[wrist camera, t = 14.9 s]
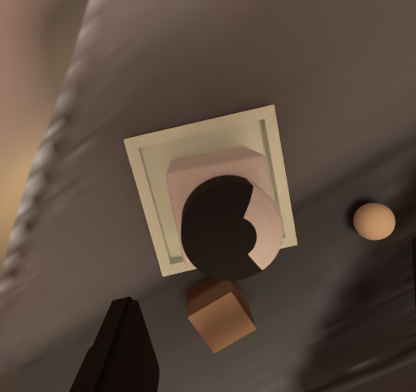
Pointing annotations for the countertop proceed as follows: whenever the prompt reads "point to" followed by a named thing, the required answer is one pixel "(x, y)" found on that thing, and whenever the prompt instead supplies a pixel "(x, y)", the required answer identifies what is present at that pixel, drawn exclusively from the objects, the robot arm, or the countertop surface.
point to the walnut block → (219, 313)
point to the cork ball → (374, 221)
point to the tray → (195, 146)
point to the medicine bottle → (225, 213)
